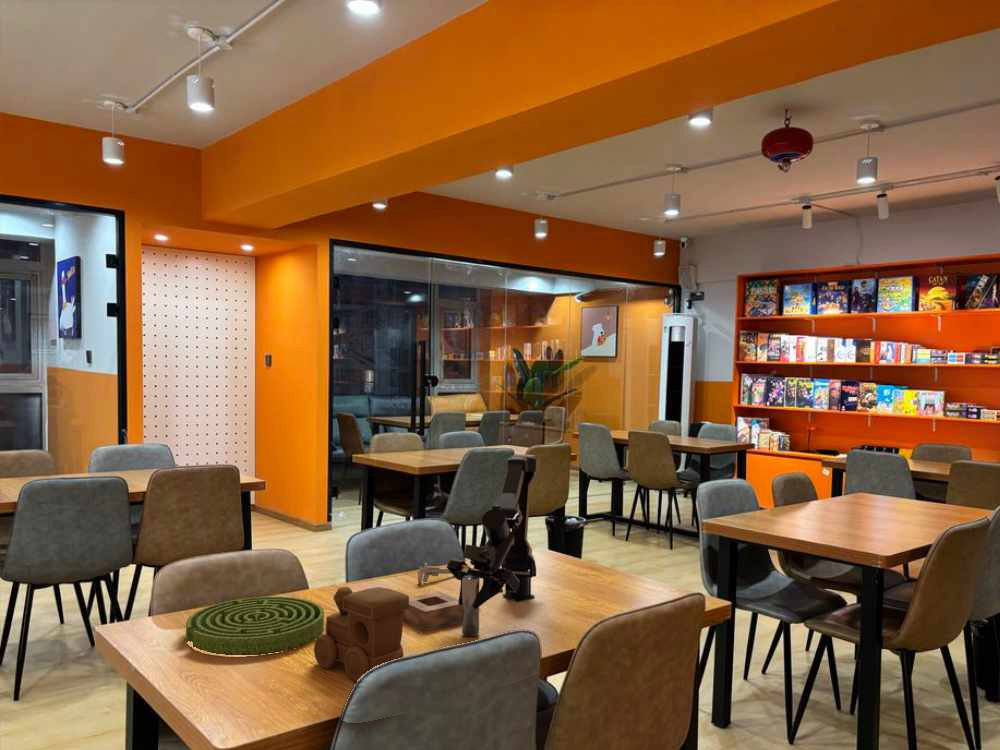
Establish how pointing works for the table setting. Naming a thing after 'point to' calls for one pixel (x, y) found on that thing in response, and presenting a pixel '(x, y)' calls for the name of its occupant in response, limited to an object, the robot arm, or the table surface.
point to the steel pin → (470, 605)
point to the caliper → (430, 572)
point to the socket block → (432, 611)
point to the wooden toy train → (363, 630)
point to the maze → (255, 625)
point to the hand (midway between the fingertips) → (466, 606)
